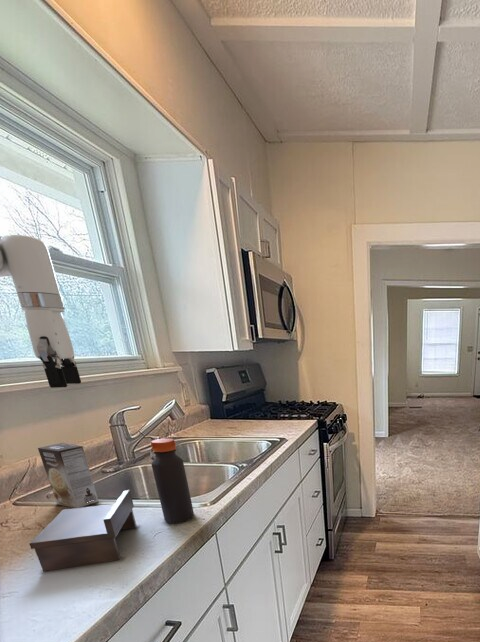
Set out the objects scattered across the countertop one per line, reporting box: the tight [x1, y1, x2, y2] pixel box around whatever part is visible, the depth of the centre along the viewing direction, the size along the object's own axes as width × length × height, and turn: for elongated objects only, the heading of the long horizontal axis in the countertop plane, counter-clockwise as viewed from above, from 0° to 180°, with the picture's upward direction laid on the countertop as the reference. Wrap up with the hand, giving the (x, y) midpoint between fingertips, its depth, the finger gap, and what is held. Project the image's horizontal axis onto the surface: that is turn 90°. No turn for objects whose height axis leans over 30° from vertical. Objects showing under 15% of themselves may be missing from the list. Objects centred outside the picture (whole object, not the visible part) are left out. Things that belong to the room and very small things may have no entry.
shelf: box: [29, 489, 137, 572], centre depth 86 cm, size 14×18×9 cm
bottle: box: [150, 437, 195, 524], centre depth 98 cm, size 7×7×20 cm
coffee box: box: [37, 442, 99, 509], centre depth 109 cm, size 9×6×16 cm
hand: (66, 385), depth 94 cm, fingers open, 9 cm apart
